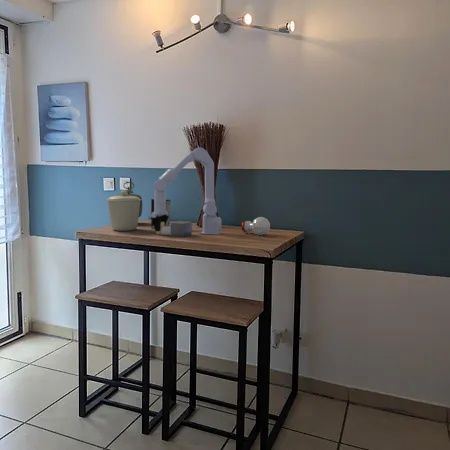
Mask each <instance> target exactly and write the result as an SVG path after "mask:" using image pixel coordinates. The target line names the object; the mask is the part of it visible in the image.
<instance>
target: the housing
mask: <svg viewBox="0 0 450 450" xmlns="http://www.w3.org/2000/svg"><path fill="white" fill-rule="evenodd" d="M170 226H171V235H170V237H175V238H176V237H178V238H185V237H188V236H191V235H192V234H193V231H192V230H193V221H187V220H177V221H172V222H170Z"/></svg>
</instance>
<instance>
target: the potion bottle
mask: <svg viewBox="0 0 450 450" xmlns="http://www.w3.org/2000/svg"><path fill="white" fill-rule="evenodd" d="M270 229H271V223H270V221H269V220H268V219H267V218H266V217H263V216H258V217H257V218H254V219H253V221H251V220H246V221H242V222H241V231H242V232H244V233H245V234H246V233H247V234H250V232H252V231H253V233H254V234H255V235H258V236H263V235H267V234H268V233H269V231H270Z"/></svg>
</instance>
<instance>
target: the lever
mask: <svg viewBox="0 0 450 450" xmlns="http://www.w3.org/2000/svg"><path fill="white" fill-rule="evenodd" d="M155 235H164V236H165V235H166V236H171V225H170V226H169V225H165V222H163V221H161V225H160V231H155Z"/></svg>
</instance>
